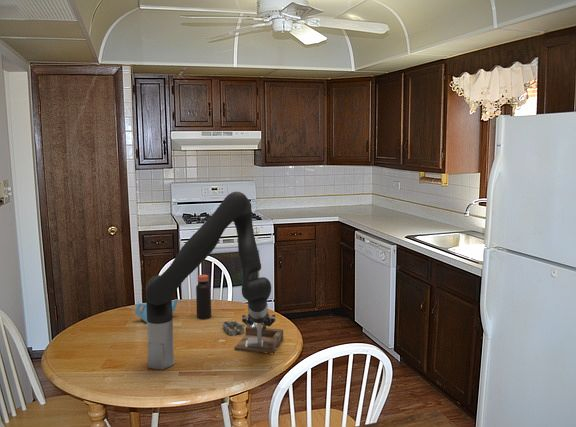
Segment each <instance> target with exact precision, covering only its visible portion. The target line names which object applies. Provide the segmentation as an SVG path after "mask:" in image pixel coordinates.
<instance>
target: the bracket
mask: <svg viewBox="0 0 576 427" xmlns="http://www.w3.org/2000/svg"><path fill="white" fill-rule="evenodd" d="M256 327H257V338H248V342H247V347H261V342H262V335H261V328H262V324H261V323H256Z"/></svg>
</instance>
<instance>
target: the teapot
mask: <svg viewBox="0 0 576 427" xmlns="http://www.w3.org/2000/svg"><path fill="white" fill-rule="evenodd" d="M178 302H179V299H178V298H175V299H174V300H172V313H173V314H174V312H175V310H176V307H177V304H178ZM141 307H143V308H142V310H141ZM140 310H141V311H140ZM134 314H135V315H137V317H140V318H141V320H143V322H144V323H146V324H147V309H146V302H137V303H136V307H135V309H134Z"/></svg>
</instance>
